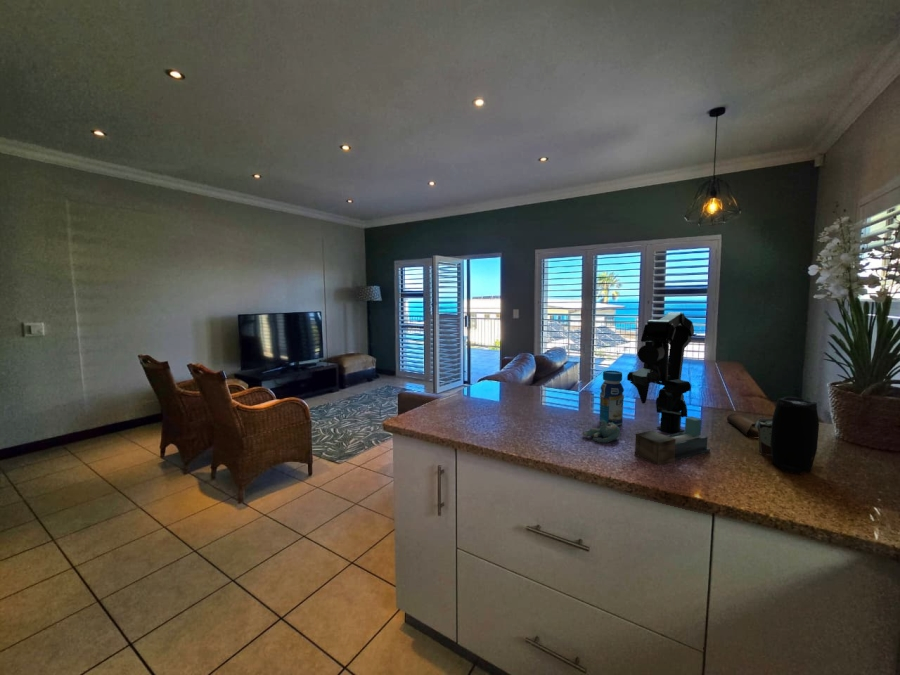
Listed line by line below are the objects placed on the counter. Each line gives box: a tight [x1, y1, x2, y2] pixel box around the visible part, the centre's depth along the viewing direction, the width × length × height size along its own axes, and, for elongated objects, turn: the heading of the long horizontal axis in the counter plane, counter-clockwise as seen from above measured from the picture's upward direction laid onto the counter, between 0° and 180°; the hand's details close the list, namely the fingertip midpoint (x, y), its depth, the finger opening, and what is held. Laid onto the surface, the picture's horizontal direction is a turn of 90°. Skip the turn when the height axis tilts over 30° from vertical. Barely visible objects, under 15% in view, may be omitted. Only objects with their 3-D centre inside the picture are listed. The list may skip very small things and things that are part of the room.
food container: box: [755, 417, 773, 456], centre depth 111 cm, size 12×6×10 cm, turn 71°
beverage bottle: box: [599, 370, 625, 426], centre depth 139 cm, size 8×8×20 cm
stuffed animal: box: [582, 420, 621, 444], centre depth 123 cm, size 11×7×12 cm
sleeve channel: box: [666, 431, 711, 462], centre depth 112 cm, size 16×8×4 cm, turn 113°
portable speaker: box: [771, 396, 820, 475], centre depth 99 cm, size 9×9×20 cm
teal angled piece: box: [671, 416, 702, 443], centre depth 112 cm, size 13×4×8 cm, turn 113°
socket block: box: [634, 430, 676, 466], centre depth 107 cm, size 7×8×7 cm
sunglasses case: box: [726, 413, 758, 438], centre depth 131 cm, size 18×7×7 cm, turn 161°
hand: (655, 407), depth 116 cm, fingers open, 9 cm apart
